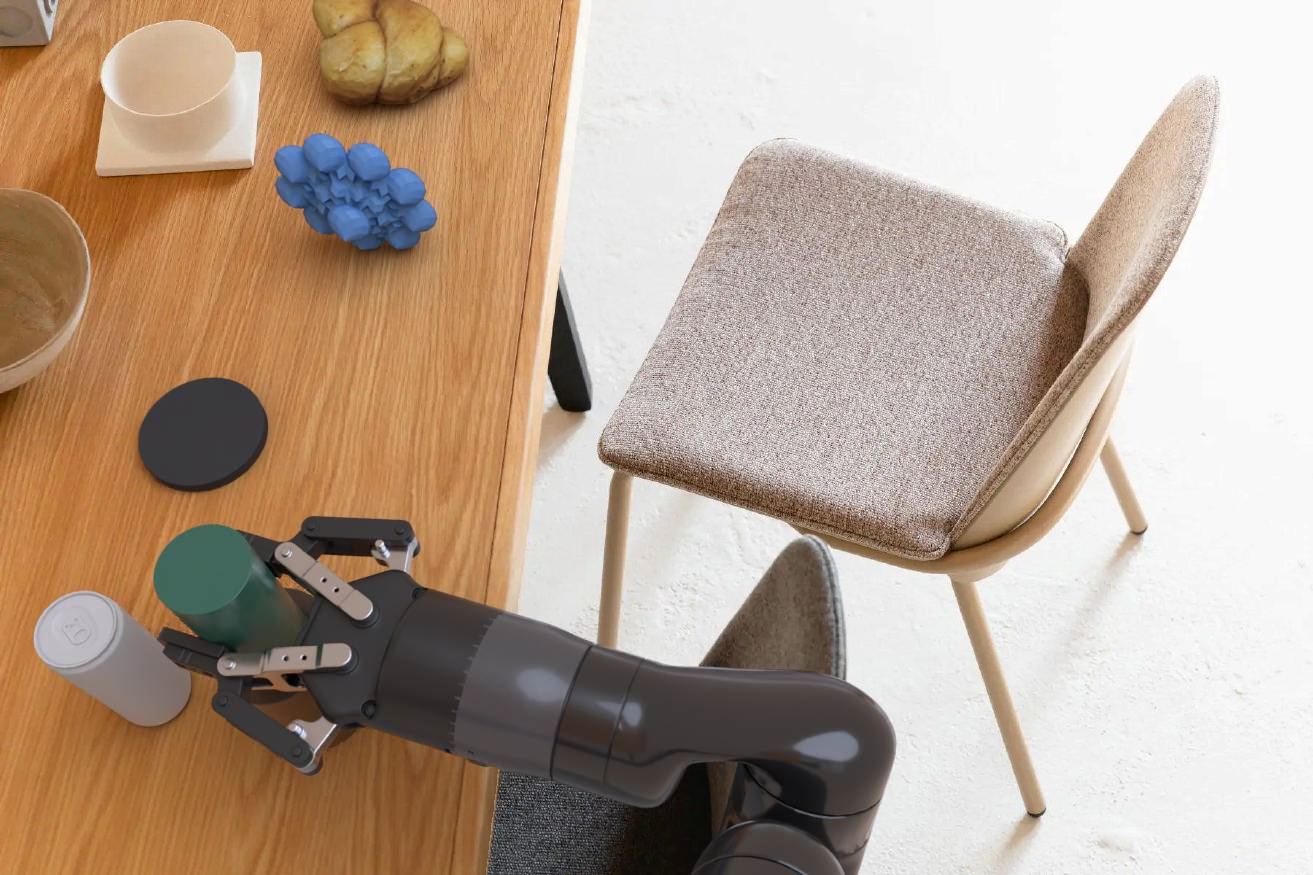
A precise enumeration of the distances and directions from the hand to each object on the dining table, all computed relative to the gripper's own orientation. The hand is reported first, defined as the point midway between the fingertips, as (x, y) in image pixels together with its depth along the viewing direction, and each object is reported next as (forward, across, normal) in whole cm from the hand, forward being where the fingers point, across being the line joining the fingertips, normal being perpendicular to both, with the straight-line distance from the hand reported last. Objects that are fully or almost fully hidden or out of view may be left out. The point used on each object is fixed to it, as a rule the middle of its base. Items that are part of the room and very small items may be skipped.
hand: (192, 592), depth 62 cm
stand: (-3, 0, +16) cm, 16 cm away
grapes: (+9, -34, +16) cm, 39 cm away
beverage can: (+7, +3, +16) cm, 18 cm away
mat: (+14, -15, +16) cm, 26 cm away
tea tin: (-3, 0, +6) cm, 7 cm away
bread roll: (+15, -52, +16) cm, 56 cm away
